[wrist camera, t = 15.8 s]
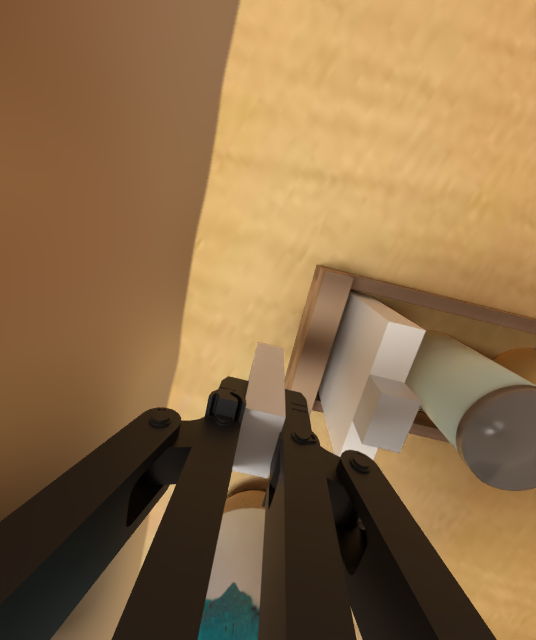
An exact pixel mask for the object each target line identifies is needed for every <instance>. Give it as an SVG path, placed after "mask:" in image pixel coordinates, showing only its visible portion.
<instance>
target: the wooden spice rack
mask: <svg viewBox="0 0 536 640" xmlns="http://www.w3.org/2000/svg"><path fill="white" fill-rule="evenodd" d="M350 289H354V290H358V291H362V292H366V293H370V294H374V295H378V296H382V297H386V298H391V299H395V300H399V301H403V302H407V303H411V304H415V305H419V306H423V307H427V308H431V309H435V310H439V311H443V312H447V313H451V314H456V315H460V316H464V317H468V318H472V319H476V320H480V321H484V322H488V323H492V324H496V325H500V326H504V327H508V328H512V329H516V330H521V331H525V332H529V333H533V334H536V319H533V318H529V317H525V316H521V315H517V314H513V313H509V312H505V311H501V310H497V309H493V308H488V307H484V306H480V305H476V304H472V303H468V302H464V301H460V300H456V299H452V298H448V297H444V296H440V295H436V294H432V293H428V292H424V291H420V290H416V289H412V288H408V287H404V286H400V285H395V284H391V283H387V282H383V281H379V280H375V279H371V278H367V277H363V276H359V275H355V274H351V273H347V272H343V271H339V270H335V269H331V268H327V267H323V266H319V265H317V266H316V269H315V273H314V276H313V280H312V283H311V287H310V291H309V294H308V298H307V301H306V305H305V308H304V312H303V315H302V319H301V323H300V326H299V330H298V333H297V337H296V340H295V344H294V348H293V351H292V355H291V358H290V362H289V365H288V369H287V372H286V376H285V389H288V390H292V391H296V392H301V393H302V394H303V396H304V397H305V398H306V400H307V405H308V407H307V408H308V413H309V417H310V414H311V411H312V410H314V411H318V412H322V413H324V412H323V408H322V404H321V400H320V396H319V392H318V389H319V386H320V382H321V379H322V376H323V373H324V370H325V367H326V364H327V361H328V357H329V354H330V351H331V348H332V345H333V342H334V339H335V335H336V332H337V329H338V326H339V323H340V320H341V317H342V314H343V310H344V307H345V304H346V301H347V298H348V295H349V292H350ZM409 433H411V434H415V435H420V436H424V437H428V438H432V439H436V440H441V441H445V442H449V441H448V439H447V438H446V437H445V436H444V435H443V433H442V432H441V431H440V430H439V429H438V427H437V426H436V425H435V424H434V423H433V421H432V420H431V419H430V418H429V417H428V416H427V414H426V413H422V412H417V414H416V417H415V419H414V421H413V424H412V426H411V428H410V431H409ZM449 443H450V442H449Z"/></svg>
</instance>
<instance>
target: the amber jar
mask: <svg viewBox="0 0 536 640" xmlns="http://www.w3.org/2000/svg"><path fill="white" fill-rule="evenodd" d="M492 361H494V362H496V363H497V364H499V365H501V366H503V367H504V368H506V369H508V370H510V371H512V372H513V373H515V374H517V375H519V376H520V377H522V378H524V379H526V380H527V381H529V382H531V383H533V384H534V385H536V349H533V348H517V349H513V350H509V351H507V352H504V353H502V354H501V355H499V356H497V357H496V358H494V359H493V360H492Z"/></svg>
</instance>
